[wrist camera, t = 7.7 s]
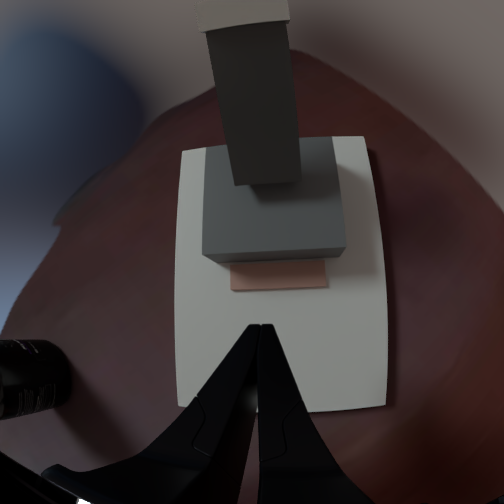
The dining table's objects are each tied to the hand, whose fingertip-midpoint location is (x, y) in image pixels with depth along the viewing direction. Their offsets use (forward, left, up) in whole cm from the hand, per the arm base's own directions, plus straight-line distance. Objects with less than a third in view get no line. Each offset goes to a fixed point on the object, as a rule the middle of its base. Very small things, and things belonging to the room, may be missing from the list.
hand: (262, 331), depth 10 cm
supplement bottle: (+8, +22, -10) cm, 25 cm away
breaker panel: (+3, -2, -9) cm, 10 cm away
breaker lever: (+6, -4, -4) cm, 9 cm away
